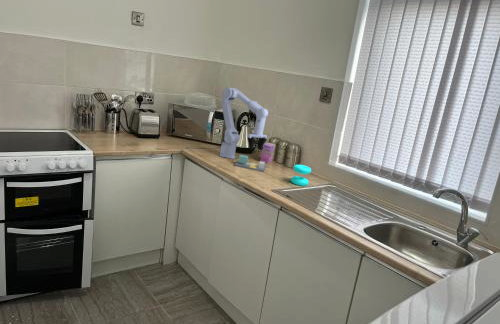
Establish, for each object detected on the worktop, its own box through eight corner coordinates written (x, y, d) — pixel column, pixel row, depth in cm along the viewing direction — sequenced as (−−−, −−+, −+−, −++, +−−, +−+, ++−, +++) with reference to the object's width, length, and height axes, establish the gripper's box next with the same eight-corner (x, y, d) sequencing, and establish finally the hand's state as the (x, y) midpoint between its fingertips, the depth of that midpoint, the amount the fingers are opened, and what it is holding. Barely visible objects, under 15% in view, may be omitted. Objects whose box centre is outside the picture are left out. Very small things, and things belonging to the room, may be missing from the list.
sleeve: (238, 162, 230) (239, 156, 229) (239, 160, 235) (240, 154, 234) (246, 163, 230) (247, 157, 229) (247, 162, 234) (248, 156, 233)
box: (268, 163, 248) (271, 146, 246) (259, 161, 250) (263, 144, 247) (272, 161, 258) (275, 144, 255) (264, 159, 260) (267, 142, 257)
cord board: (234, 165, 227) (235, 159, 226) (237, 161, 239) (238, 155, 238) (264, 172, 226) (265, 165, 225) (265, 167, 237) (266, 161, 236)
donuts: (307, 165, 219) (314, 170, 210) (303, 181, 222) (310, 187, 212) (291, 163, 216) (298, 168, 207) (287, 179, 219) (294, 185, 209)
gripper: (255, 129, 226) (250, 151, 230) (272, 129, 236) (267, 150, 240) (247, 126, 231) (243, 147, 235) (264, 127, 241) (260, 147, 244)
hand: (255, 149), depth 237 cm, fingers open, 7 cm apart
